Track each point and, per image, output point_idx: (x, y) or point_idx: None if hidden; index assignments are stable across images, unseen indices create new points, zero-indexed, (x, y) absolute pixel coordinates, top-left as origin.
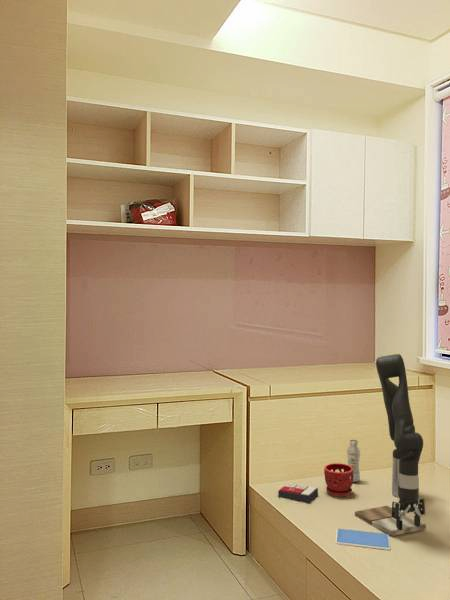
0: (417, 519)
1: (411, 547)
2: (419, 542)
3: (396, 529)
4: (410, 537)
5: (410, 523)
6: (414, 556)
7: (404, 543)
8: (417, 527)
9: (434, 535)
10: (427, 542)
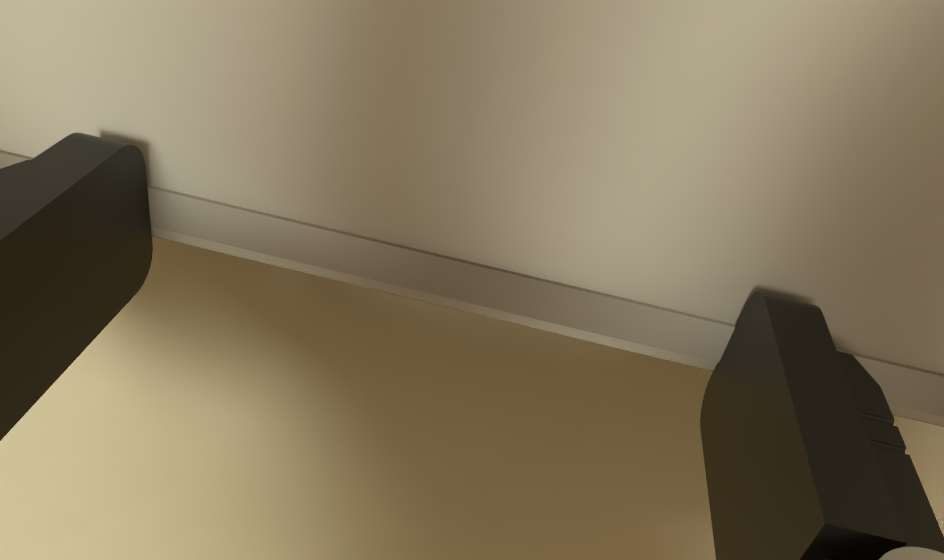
0: (730, 554)
1: (114, 457)
2: (352, 464)
3: (58, 135)
4: (360, 303)
5: (829, 119)
6: (6, 552)
7: (87, 349)
8: (717, 359)
9: None
10: (469, 527)
